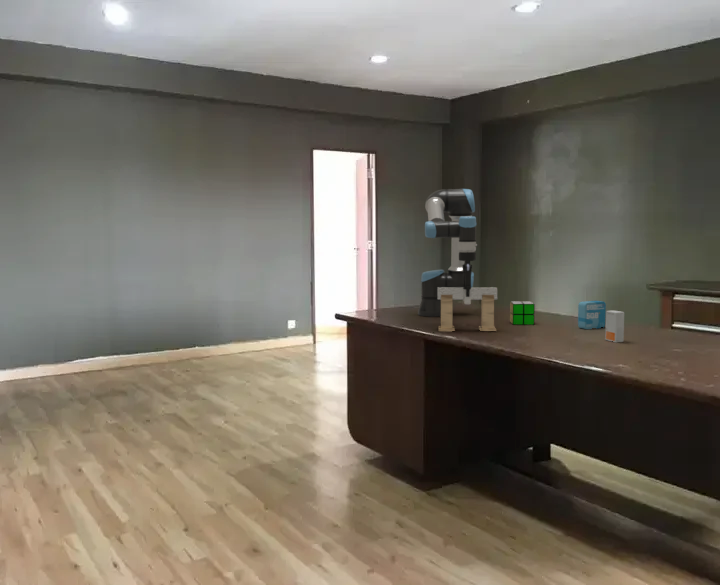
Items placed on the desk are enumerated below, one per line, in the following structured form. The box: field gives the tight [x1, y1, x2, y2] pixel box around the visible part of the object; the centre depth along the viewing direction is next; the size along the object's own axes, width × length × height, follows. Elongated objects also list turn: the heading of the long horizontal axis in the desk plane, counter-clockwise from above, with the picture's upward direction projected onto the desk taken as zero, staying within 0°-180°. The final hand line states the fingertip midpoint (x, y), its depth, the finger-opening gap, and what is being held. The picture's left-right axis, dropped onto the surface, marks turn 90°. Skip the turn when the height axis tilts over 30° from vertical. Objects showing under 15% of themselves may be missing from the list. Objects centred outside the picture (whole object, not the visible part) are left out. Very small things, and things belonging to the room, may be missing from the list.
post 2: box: [478, 295, 497, 332], centre depth 298 cm, size 8×7×16 cm
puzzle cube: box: [509, 300, 536, 326], centre depth 318 cm, size 10×10×10 cm
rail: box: [438, 286, 498, 301], centre depth 298 cm, size 4×26×5 cm, turn 84°
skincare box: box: [604, 309, 625, 343], centre depth 268 cm, size 6×4×12 cm
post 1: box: [437, 295, 456, 332], centre depth 299 cm, size 8×7×16 cm
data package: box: [577, 300, 607, 330], centre depth 302 cm, size 12×4×12 cm, turn 114°
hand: (467, 302), depth 298 cm, fingers open, 8 cm apart
